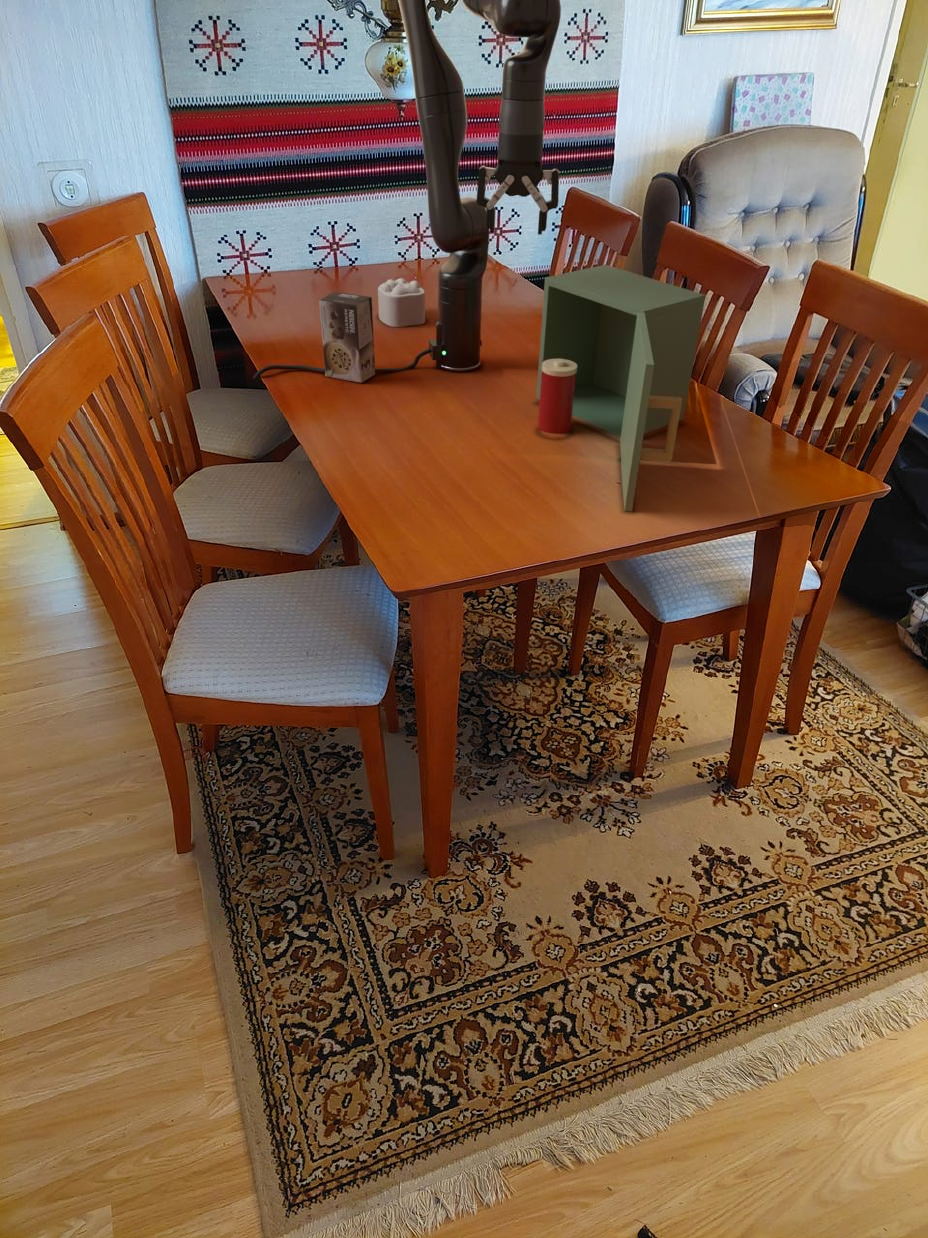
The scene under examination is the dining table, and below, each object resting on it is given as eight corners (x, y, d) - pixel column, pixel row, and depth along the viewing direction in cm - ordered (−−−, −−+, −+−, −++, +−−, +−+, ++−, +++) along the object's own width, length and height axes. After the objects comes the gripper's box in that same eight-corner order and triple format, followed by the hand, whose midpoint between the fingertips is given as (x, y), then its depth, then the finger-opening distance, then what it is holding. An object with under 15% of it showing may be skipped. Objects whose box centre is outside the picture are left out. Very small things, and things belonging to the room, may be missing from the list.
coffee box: (376, 373, 188) (373, 296, 178) (361, 384, 183) (357, 304, 173) (339, 366, 191) (334, 290, 181) (323, 376, 186) (317, 298, 176)
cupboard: (625, 445, 161) (644, 310, 147) (535, 403, 176) (544, 277, 162) (682, 424, 170) (705, 294, 155) (591, 385, 185) (605, 264, 170)
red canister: (536, 438, 163) (541, 365, 155) (537, 424, 168) (542, 353, 160) (570, 440, 163) (577, 367, 154) (571, 426, 168) (578, 355, 160)
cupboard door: (654, 448, 160) (676, 314, 146) (664, 513, 141) (690, 366, 126) (619, 446, 161) (637, 312, 147) (624, 511, 141) (645, 364, 127)
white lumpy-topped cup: (389, 328, 212) (388, 291, 207) (371, 312, 222) (370, 276, 216) (429, 323, 216) (429, 286, 210) (410, 308, 225) (409, 272, 220)
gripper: (564, 127, 150) (556, 229, 160) (481, 124, 151) (478, 225, 161) (563, 134, 144) (555, 239, 154) (476, 130, 145) (474, 235, 155)
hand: (515, 232), depth 157 cm, fingers open, 8 cm apart
